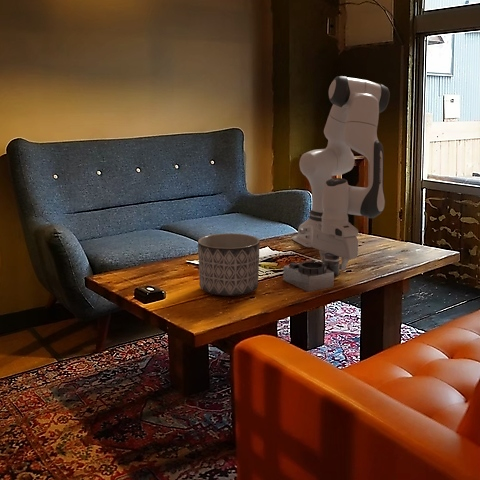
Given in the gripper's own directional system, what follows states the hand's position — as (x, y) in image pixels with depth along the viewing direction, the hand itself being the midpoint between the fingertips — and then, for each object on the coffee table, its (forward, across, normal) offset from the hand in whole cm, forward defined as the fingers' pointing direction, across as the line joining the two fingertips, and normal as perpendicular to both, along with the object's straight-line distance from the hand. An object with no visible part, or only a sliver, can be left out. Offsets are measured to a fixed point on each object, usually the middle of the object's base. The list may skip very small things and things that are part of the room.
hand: (333, 266), depth 213 cm
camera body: (+3, +3, -13) cm, 14 cm away
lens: (+3, 0, 0) cm, 3 cm away
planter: (+3, -4, -39) cm, 40 cm away
